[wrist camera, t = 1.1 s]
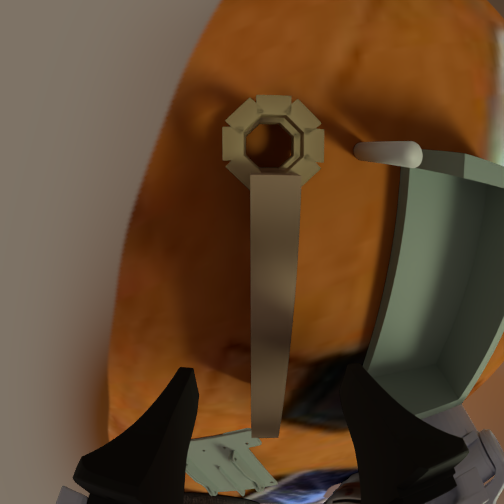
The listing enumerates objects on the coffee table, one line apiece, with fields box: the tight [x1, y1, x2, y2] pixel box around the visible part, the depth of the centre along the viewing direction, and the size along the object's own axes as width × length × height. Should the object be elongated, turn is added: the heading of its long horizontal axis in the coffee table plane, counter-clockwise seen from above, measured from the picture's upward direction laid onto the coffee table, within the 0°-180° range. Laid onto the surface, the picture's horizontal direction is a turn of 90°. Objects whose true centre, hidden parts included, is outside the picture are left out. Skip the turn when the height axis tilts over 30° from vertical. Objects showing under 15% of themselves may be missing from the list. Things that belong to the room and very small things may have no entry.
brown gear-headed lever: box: [222, 95, 324, 438], centre depth 16 cm, size 22×4×6 cm, turn 0°
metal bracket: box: [186, 428, 278, 496], centre depth 27 cm, size 14×6×15 cm
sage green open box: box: [354, 141, 504, 419], centre depth 15 cm, size 20×13×6 cm, turn 0°
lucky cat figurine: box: [323, 472, 361, 504], centre depth 28 cm, size 15×12×14 cm
